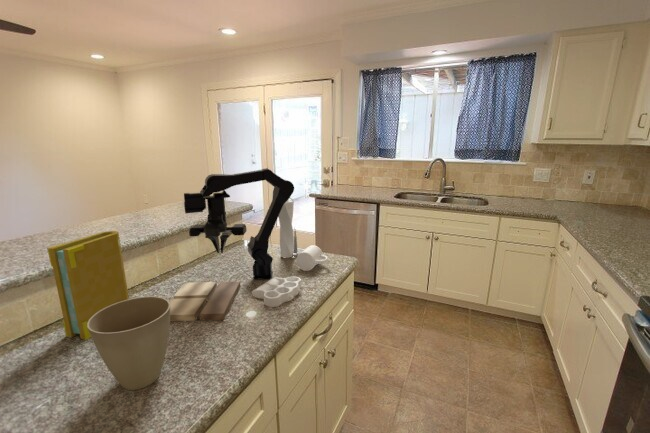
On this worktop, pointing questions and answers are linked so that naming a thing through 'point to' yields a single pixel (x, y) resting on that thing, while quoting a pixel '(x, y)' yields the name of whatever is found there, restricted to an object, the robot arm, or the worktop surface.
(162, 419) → the worktop surface
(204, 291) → the oak plank right
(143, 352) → the plant pot
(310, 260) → the mug
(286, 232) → the skyscraper
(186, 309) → the oak plank left
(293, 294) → the white honeycomb tray
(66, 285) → the book
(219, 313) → the walnut board
